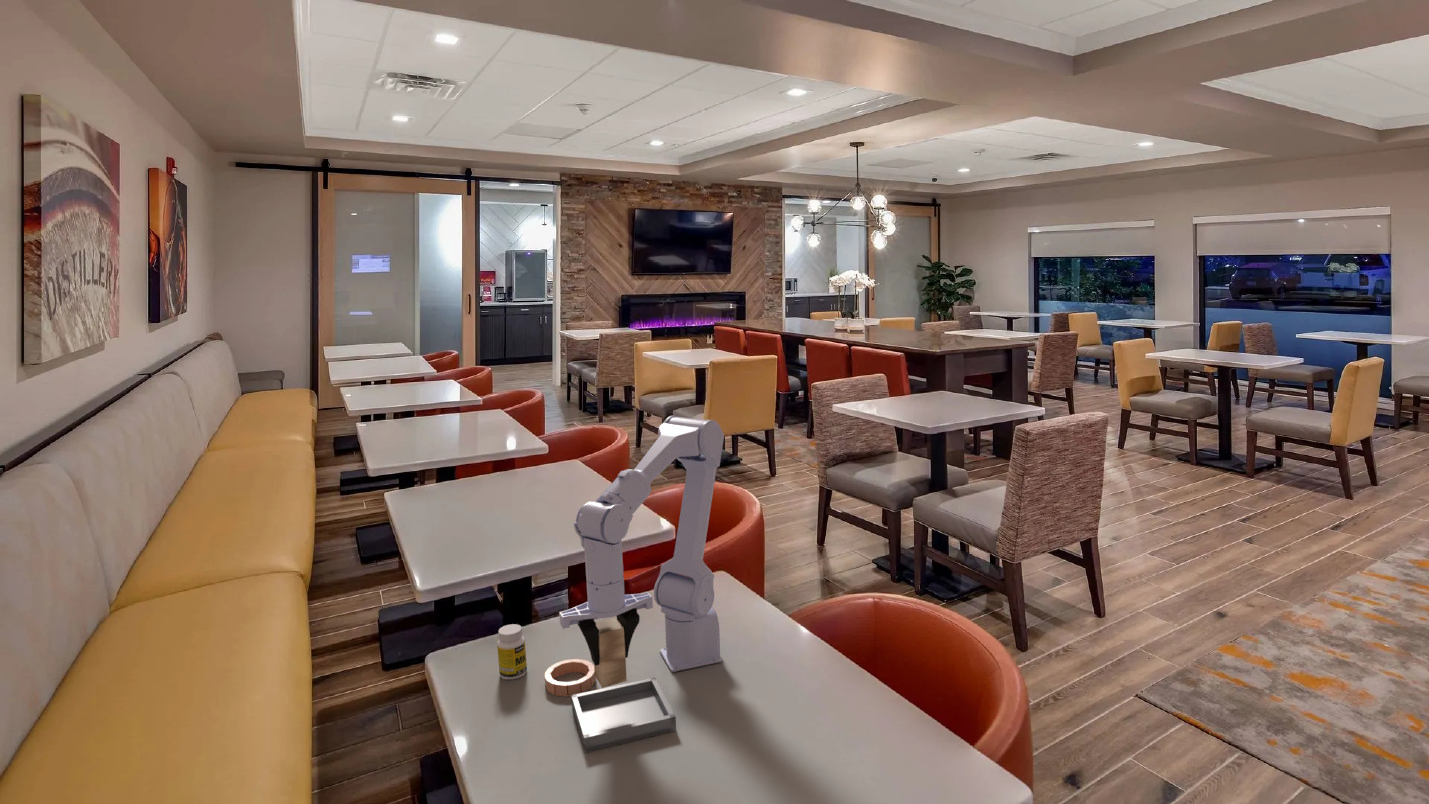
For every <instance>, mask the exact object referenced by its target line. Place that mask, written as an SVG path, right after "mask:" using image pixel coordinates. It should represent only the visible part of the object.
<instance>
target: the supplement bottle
mask: <svg viewBox="0 0 1429 804" xmlns="http://www.w3.org/2000/svg"><path fill="white" fill-rule="evenodd" d="M522 628H523V627H522V626H521V625H520V624H518V623H516V624H514V623H512V624H506V625H503V626H502V627H500V628H499V629H498V641H497V643H496V646H497V647H496V648H497V658H498V669H499V671H498V672H499V676H500V678H502V679H503V680H517V679H520V678H522V677H523V676H525V674H526V673H527V670H528V666H527V665H528V664H527V654H526V653H527V652H526V640H525V637H524V636H523V629H522Z"/></svg>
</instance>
